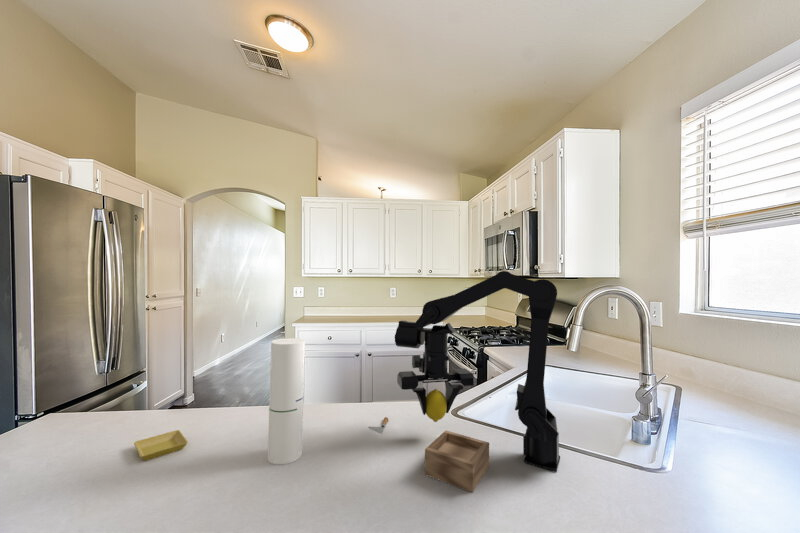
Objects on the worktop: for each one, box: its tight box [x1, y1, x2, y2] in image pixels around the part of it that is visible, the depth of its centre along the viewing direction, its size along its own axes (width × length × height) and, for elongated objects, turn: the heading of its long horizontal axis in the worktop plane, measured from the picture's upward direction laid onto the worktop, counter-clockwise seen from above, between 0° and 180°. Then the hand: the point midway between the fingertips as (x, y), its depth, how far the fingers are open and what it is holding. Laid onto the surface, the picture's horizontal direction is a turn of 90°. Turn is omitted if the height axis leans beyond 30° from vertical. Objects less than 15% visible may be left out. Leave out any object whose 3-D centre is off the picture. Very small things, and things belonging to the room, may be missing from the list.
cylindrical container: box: [267, 338, 306, 465], centre depth 72 cm, size 7×7×25 cm
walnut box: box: [424, 430, 490, 493], centre depth 67 cm, size 10×10×5 cm
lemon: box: [426, 388, 447, 423], centre depth 81 cm, size 6×6×8 cm
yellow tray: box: [133, 429, 189, 462], centre depth 73 cm, size 9×9×2 cm
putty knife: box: [367, 416, 389, 435], centre depth 85 cm, size 13×1×5 cm
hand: (435, 413), depth 81 cm, fingers closed on lemon, 5 cm apart
